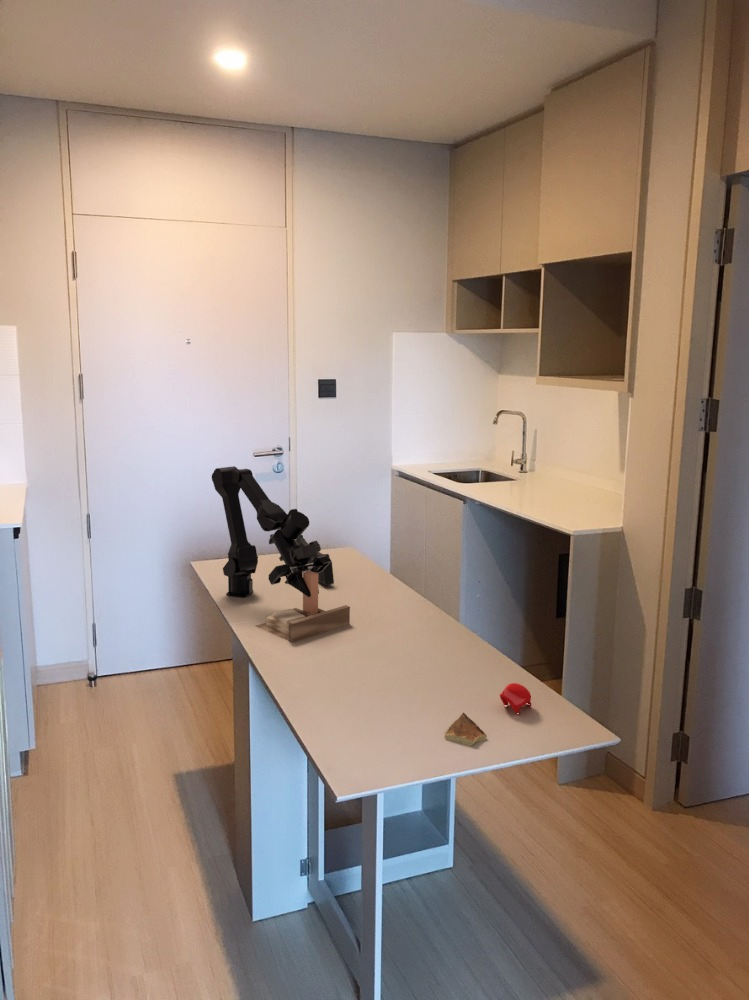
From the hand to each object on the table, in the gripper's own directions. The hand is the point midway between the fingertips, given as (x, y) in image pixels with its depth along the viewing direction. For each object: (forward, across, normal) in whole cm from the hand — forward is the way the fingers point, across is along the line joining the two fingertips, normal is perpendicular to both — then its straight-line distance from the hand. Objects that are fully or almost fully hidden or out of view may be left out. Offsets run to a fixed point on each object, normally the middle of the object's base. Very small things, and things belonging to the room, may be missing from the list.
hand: (313, 595), depth 219 cm
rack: (+6, -4, +5) cm, 9 cm away
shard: (+54, -18, -41) cm, 70 cm away
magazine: (-19, +30, +31) cm, 47 cm away
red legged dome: (+54, -1, -43) cm, 69 cm away
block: (+4, 0, +6) cm, 7 cm away
